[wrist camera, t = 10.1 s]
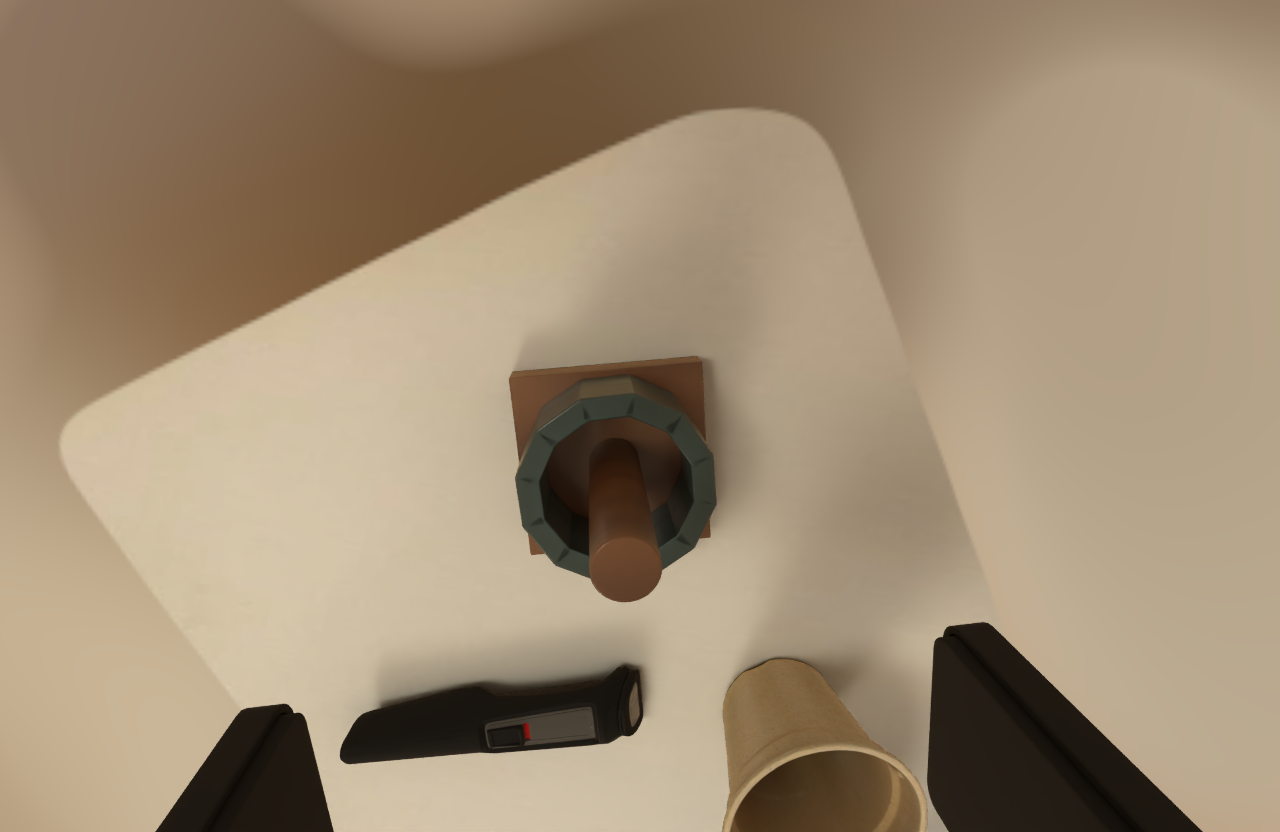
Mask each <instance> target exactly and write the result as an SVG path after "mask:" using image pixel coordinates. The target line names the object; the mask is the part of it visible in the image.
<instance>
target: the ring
mask: <svg viewBox="0 0 1280 832" xmlns="http://www.w3.org/2000/svg"><path fill="white" fill-rule="evenodd" d="M622 417H632V418H634V419H636V420H639V421H641V422H643V423H646V424H648V425H651V426H653V427H655V428H658V429H660V430H663V431H665V432H667V433H668V434H669V435H670V437H671V438H672V439H673V441H674V442H675V444H676V445H677V446H678V448H679V449H680V456H681V467H682V471H681V473H680V475H679V477H678V479H677V481H676V484H675V486H674V488H673V490H672V492H671V494H670V496H669V498H668V500H667V501H666V502H665V503H664V504H662V505H661V506H659V507H658V508H656V509H655V510H653V511H652V512H651V515H652V520H653V524H654V529H655V533H656V538H657V543H658V547H659V552H660V556H661V561H662V570H663V569H665V568H666V567H667V566H669V565H670V564H672V563H673V562H675V561H676V560H678V559H679V558H681V557H682V556H684V555H685V554H687V553H688V552H689V551H691V550H692V549H694V548H695V546H696V544H697V542H698V540H699V538H700V536H701V534H702V532H703V530H704V528H705V526H706V524H707V522H708V520H709V518H710V516H711V514H712V512H713V510H714V509H715V507H716V503H717V502H716V488H715V474H714V460H713V454H712V452H711V450H710V448H709V447H708V445H707V443H706V441H705V439H704V438H703V436H702V434H701V432H700V430H699V429H698V427H697V426H696V424H695V423H694V422H693V420H692V419H691V418H690V416H689V415H688V413H687V412H686V411H685V409H684V408H683V407H682V405H681V404H680V402H679V401H678V400H677V398H676V397H675V395H674V394H673V393H672V392H670V391H668V390H665V389H663V388H661V387H658V386H656V385H654V384H651V383H649V382H647V381H644V380H642V379H640V378H637V377H635V376H633V375H630V374H624V375H614V376H605V377H596V378H587V379H581V380H579V381H577V382H576V383H575V384H573V385H572V386H570V387H569V388H568V389H566V390H565V391H563V392H562V393H561V394H559V395H558V396H557V397H555V398H554V399H552V400H551V401H550V402H548V403H547V404H546V405H544V406H543V407H542V408H541V410H540V412H539V415H538V417H537V419H536V422H535V424H534V426H533V428H532V431H531V433H530V435H529V438H528V440H527V442H526V445H525V447H524V450H523V453H522V456H521V460H520V463H519V466H518V470H517V473H516V477H515V481H516V488H517V494H518V500H519V507H520V513H521V520H522V526H523V528H524V529H525V530H526V531H527V533H528V534H529V535H530V536H531V537H532V539H533V540H534V541H535V542H536V543H537V544H538V546H539V547H540V548H541V549H542V550H543V551H544V553H545V554H546V555H547V556H548V557H549V559H550V560H551V561H552V562H553V563H554V564H555V565H556V566H558V567H561V568H564V569H566V570H569V571H572V572H574V573H577V574H580V575H582V576H585V577H588V578H590V574H589V519H587V518H585V517H582V516H580V515H577V514H575V513H572V512H571V511H570V510H569V509H568V508H567V506H566V505H565V504H564V503H563V502H562V500H561V499H560V498H559V497H558V495H557V494H556V493H555V492H554V491H553V489H552V488H551V487H550V482H549V475H548V468H547V463H548V461H549V459H550V457H551V454H552V452H553V450H554V448H555V445H556V444H558V443H559V442H561V441H562V440H563V439H565V438H566V437H568V436H569V435H570V434H572V433H573V432H575V431H576V430H577V429H579V428H580V427H582V426H583V425H584V424H586V423H587V422H589V421H596V420H604V419H613V418H622ZM590 579H591V578H590Z"/></svg>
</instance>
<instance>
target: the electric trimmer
mask: <svg viewBox="0 0 1280 832" xmlns="http://www.w3.org/2000/svg"><path fill="white" fill-rule="evenodd" d="M641 693H642V692H641V683H640V674H639V670H632V671H629V670H628V669H627V667H626V666H623V667H619V668H617V669H616V670H615V671H614V672H613V673H612V674H611V675H610V676H609V677H607V678H606V679H605V680H604V681H597V682H590V683H582V684H575V685H567V686H560V687H552V688H545V689H537V690H530V691H522V692H515V693H507V694H500V695H496V694H494V693H492V692H490V691H487V690H485V689H483V688H481V687H470V688H465V689H459V690H455V691H451V692H447V693H442V694H438V695H434V696H430V697H426V698H422V699H418V700H414V701H410V702H405V703H401V704H397V705H393V706H389V707H385V708H381V709H377V710H373V711H369V712H366V713H364V714H362V715H361V716H360V717H359V718H358V719H357V720H356V721H355V723H354V724H353V726H352V728H351V729H350V731H349V733H348V734H347V736H346V738H345V740H344V741H343V744H342V747H341V750H340V759H341V760H342V761H343V762H344V763H346V764H357V763H368V762H379V761H391V760H402V759H413V758H424V757H435V756H446V755H457V754H468V753H479V752H480V753H504V752H516V751H528V750H540V749H552V748H564V747H576V746H588V745H597V744H608V743H610V742H612V741H614V740H616V739H617V738H619V737H620V736H622V735H623V736H631V735H633V734H634V733H635V732H636V731H637V729H638V728H639V726H640V724H641V721H642V718H643V704H642V694H641Z"/></svg>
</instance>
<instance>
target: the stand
mask: <svg viewBox="0 0 1280 832" xmlns="http://www.w3.org/2000/svg"><path fill="white" fill-rule="evenodd" d="M624 374H630V375H633V376H635V377H637V378H640V379H642V380H644V381H647V382H649V383H651V384H654V385H656V386H658V387H661V388H663V389H665V390H668V391H670V392H672V393H673V394H674V395H675V397H676V398H677V400H678V401H679V402H680V404H681V405H682V407H683V408H684V409H685V411H686V412H687V413H688V415H689V416H690V418H691V419H692V420H693V422H694V423H695V424H696V426H697V427H698V429H699V430H700V432H701V434H702V436H703V438H704V439H705V441H706V433H705V413H704V392H703V371H702V362H701V360H700V359H699V358H698V357H697V356H693V357H681V358H670V359H658V360H646V361H634V362H622V363H610V364H599V365H587V366H575V367H563V368H551V369H539V370H527V371H516V372H512V374H511V376H510V377H509V384H510V392H511V400H512V408H513V416H514V424H515V432H516V440H517V448H518V456H519V463H520V460H521V456H522V453H523V450H524V447H525V445H526V442H527V440H528V438H529V435H530V433H531V431H532V428H533V426H534V424H535V422H536V419H537V417H538V415H539V412H540V410H541V408H542V407H543V406H544V405H546V404H547V403H548V402H550V401H551V400H552V399H554V398H555V397H557V396H558V395H559V394H561V393H562V392H563V391H565V390H566V389H568V388H569V387H570V386H572V385H573V384H575V383H576V382H577V381H579V380H581V379H587V378H596V377H605V376H614V375H624ZM547 468H548V475H549V482H550V487H551V488H552V489H553V491H554V492H555V493H556V494H557V495H558V497H559V498H560V499H561V500H562V502H563V503H564V504H565V505H566V506H567V508H568V509H569V510H570V511H571V512H572V513H575V514H577V515H580V516H582V517H585V518H587V519H589V574H590V578H591V581H592V583H593V585H594V587H595V588H596V589H597V590H598V592H599V593H601V594H602V595H603V596H605V597H606V598H608V599H611V600H614V601H618V602H632V601H636V600H639V599H641V598H643V597H645V596H647V595H648V594H649V593H650V592H652V591H653V589H654V588H655V587H656V586H657V584H658V582H659V580H660V578H661V574H662V561H661V556H660V552H659V547H658V543H657V538H656V533H655V529H654V524H653V520H652V515H651V512H652V511H653V510H655V509H656V508H658V507H659V506H661V505H662V504H664V503H665V502H666V501H667V500H668V498H669V496H670V494H671V492H672V490H673V488H674V486H675V484H676V481H677V479H678V477H679V475H680V473H681V471H682V467H681V456H680V449H679V448H678V446H677V445H676V444H675V442H674V441H673V439H672V438H671V437H670V435H669V434H668V433H667V432H665V431H663V430H660V429H658V428H655V427H653V426H651V425H648V424H646V423H643V422H641V421H639V420H636V419H634V418H632V417H622V418H613V419H604V420H596V421H589V422H587V423H586V424H584V425H583V426H582V427H580V428H579V429H577V430H576V431H575V432H573V433H572V434H570V435H569V436H568V437H566V438H565V439H563V440H562V441H561V442H559V443H558V444H556V445H555V448H554V450H553V452H552V454H551V457H550V459H549V461H548V463H547ZM528 536H529V544H530V552H531V555H536V554H545V553H544V551H543V550H542V549H541V548H540V547H539V546H538V544H537V543H536V542H535V541H534V540H533V539H532V537H531V536H530V535H529V534H528ZM709 537H710V518H709V520H708V522H707V524H706V526H705V528H704V530H703V532H702V534H701V536H700V538H709Z"/></svg>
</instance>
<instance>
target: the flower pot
mask: <svg viewBox="0 0 1280 832" xmlns="http://www.w3.org/2000/svg"><path fill="white" fill-rule="evenodd" d="M723 722H724V729H725V740H726V750H727V762H728V775H729V787H730V793H729V798H728V803H727V812H726V815H725V818H724V822H723V829H722V832H926V829H927V811H928V809H927V802H926V797H925V794H924V792H923V790H922V787H921V785H920V783H919V782H918V780H917V779H916V777H915V776H914V775H913V773H912V772H911V771H910V770H909V769H908V768H907V767H906V766H905V765H904V764H903V763H902V762H901V761H900V760H899V759H897V758H896V757H894V756H893V755H891V754H890V753H888V752H886V751H885V750H884V749H883V748H881V747H880V746H879V745H878V744H876V743H875V742H873V741H872V740H871V739H870V738H869V737H868V736H867V734H866V733H865V732H864V730H863V729H862V728H861V727H860V725H859V724H858V723H857V721H856V720H855V719H854V718H853V716H852V715H851V714H850V713H849V711H848V710H847V709H846V707H845V706H844V705H843V703H842V702H841V701H840V700H839V698H838V697H837V696H836V694H835V693H834V692H833V690H832V689H831V688H830V686H829V685H828V683H827V682H826V681H825V679H824V678H823V677H822V676H821V675H820V674H819V673H818V672H817V671H816V670H815V669H813V668H812V667H810V666H808V665H807V664H805V663H802V662H799V661H795V660H788V659H775V660H769V661H767V662H766V663H765V664H763V665H761V666H759V667H757V668H754V669H752V670H749V671H745V672H743V673H742V674H741V675H740V676H739V677H738V678H737V679H736V680H735V681H734V682H733V684H732V685H731V687H730V688H729V690H728V692H727V694H726V697H725V700H724V705H723Z"/></svg>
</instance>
